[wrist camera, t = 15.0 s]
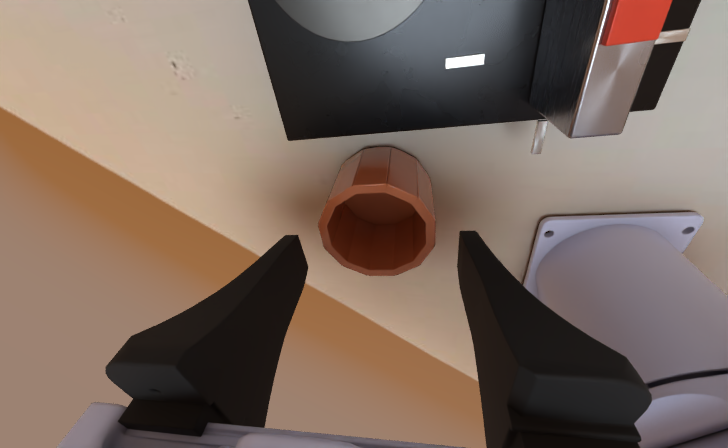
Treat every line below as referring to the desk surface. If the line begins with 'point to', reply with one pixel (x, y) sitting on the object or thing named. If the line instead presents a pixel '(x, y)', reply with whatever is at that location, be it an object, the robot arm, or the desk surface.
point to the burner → (349, 17)
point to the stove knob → (593, 62)
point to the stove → (429, 69)
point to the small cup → (379, 213)
